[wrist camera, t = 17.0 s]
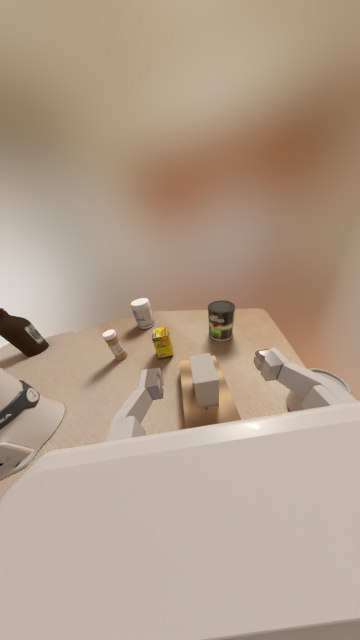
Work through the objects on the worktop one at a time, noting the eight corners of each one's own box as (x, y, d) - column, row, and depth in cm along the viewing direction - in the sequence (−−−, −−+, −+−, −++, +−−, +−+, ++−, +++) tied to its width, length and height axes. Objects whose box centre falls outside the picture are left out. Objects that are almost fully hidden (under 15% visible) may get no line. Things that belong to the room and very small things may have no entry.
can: (281, 391, 36) (295, 362, 29) (317, 399, 33) (341, 368, 26) (290, 423, 30) (310, 395, 23) (335, 435, 27) (371, 408, 21)
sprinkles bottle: (125, 351, 59) (112, 327, 52) (128, 356, 56) (115, 332, 49) (115, 357, 57) (100, 333, 50) (118, 363, 54) (103, 338, 46)
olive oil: (21, 361, 65) (-29, 319, 51) (29, 349, 73) (-13, 310, 59) (48, 350, 69) (7, 309, 56) (52, 340, 77) (17, 302, 64)
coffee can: (226, 344, 53) (227, 315, 46) (204, 335, 60) (202, 308, 52) (237, 331, 59) (239, 303, 51) (216, 324, 65) (216, 298, 58)
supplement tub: (136, 330, 73) (126, 306, 65) (142, 320, 80) (134, 298, 73) (152, 329, 71) (144, 305, 63) (157, 319, 78) (150, 297, 71)
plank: (247, 451, 27) (250, 443, 24) (190, 460, 27) (187, 453, 25) (215, 365, 46) (214, 355, 43) (181, 370, 46) (179, 361, 43)
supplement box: (173, 356, 52) (168, 335, 46) (158, 359, 52) (151, 338, 46) (172, 346, 57) (167, 326, 51) (158, 349, 57) (152, 329, 51)
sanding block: (218, 404, 31) (219, 379, 25) (197, 408, 31) (193, 383, 25) (210, 377, 37) (209, 352, 31) (193, 380, 37) (189, 356, 31)
